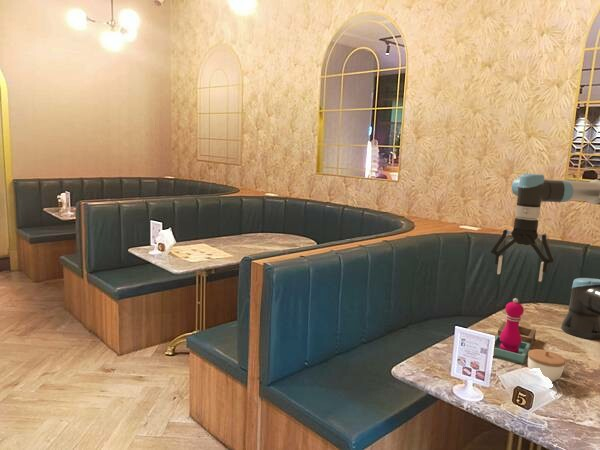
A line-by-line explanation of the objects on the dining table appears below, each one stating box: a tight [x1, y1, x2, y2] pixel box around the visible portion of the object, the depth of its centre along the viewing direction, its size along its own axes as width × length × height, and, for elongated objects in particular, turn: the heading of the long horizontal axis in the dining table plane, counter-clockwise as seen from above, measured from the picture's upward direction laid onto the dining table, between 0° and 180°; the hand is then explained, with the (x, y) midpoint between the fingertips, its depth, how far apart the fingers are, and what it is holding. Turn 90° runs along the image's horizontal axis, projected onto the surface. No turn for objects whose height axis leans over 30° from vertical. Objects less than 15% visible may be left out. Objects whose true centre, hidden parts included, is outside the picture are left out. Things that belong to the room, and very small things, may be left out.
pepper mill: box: [500, 297, 524, 353], centre depth 170 cm, size 7×7×20 cm
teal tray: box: [493, 334, 531, 365], centre depth 171 cm, size 12×14×3 cm
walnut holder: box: [497, 321, 537, 350], centre depth 184 cm, size 12×12×4 cm
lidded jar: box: [527, 348, 566, 383], centre depth 152 cm, size 11×11×9 cm
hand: (518, 277), depth 167 cm, fingers open, 13 cm apart
